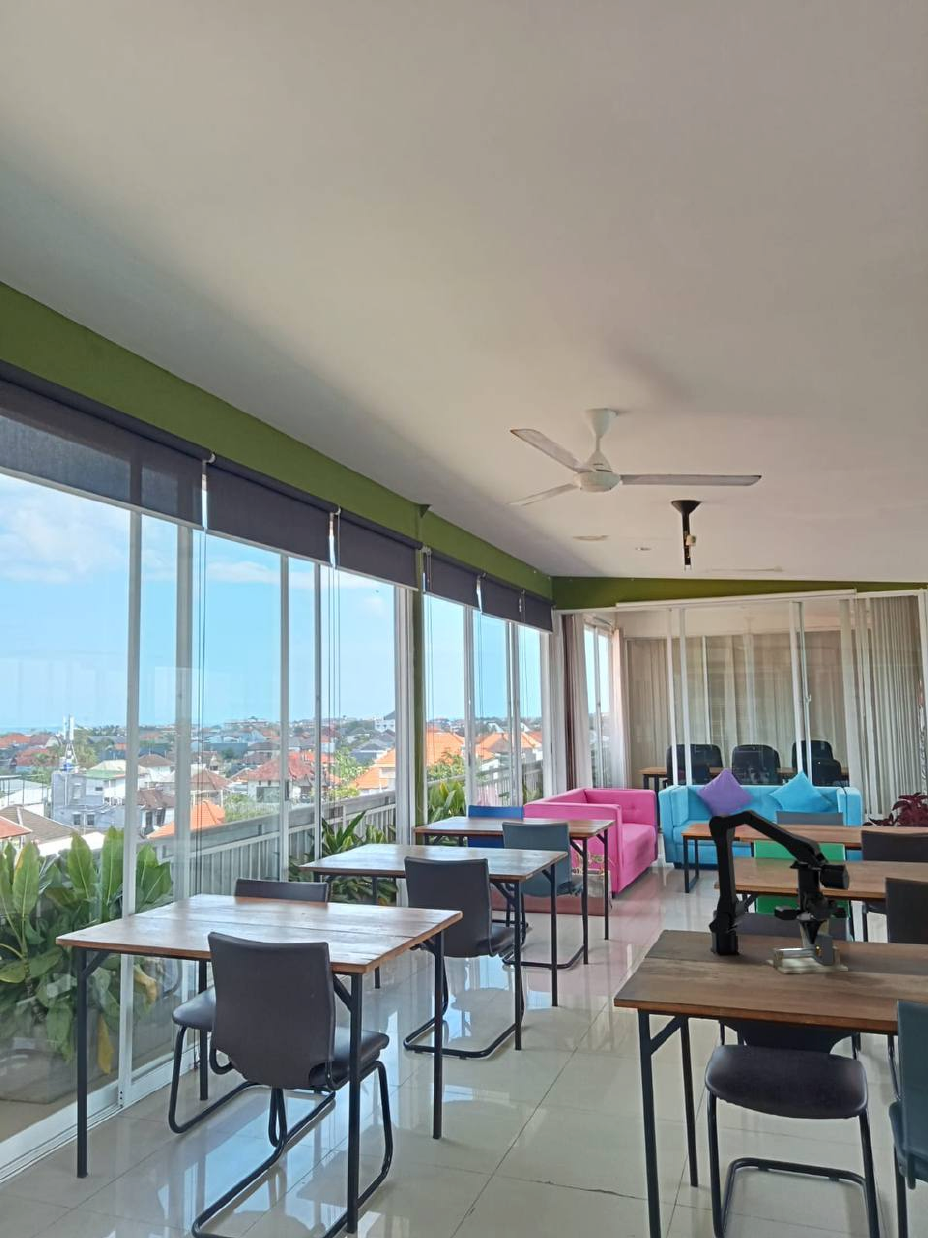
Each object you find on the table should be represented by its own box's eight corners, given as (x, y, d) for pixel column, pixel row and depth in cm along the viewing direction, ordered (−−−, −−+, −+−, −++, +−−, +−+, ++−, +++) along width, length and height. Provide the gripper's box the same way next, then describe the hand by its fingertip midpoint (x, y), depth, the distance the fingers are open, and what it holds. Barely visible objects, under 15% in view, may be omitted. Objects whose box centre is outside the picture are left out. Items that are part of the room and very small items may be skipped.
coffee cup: (827, 946, 274) (825, 894, 275) (837, 955, 264) (834, 901, 266) (793, 945, 275) (791, 894, 276) (802, 954, 265) (800, 901, 267)
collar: (823, 965, 250) (822, 937, 251) (812, 959, 256) (811, 931, 257) (833, 964, 250) (832, 936, 251) (822, 958, 256) (821, 931, 257)
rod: (777, 959, 250) (776, 950, 251) (773, 956, 253) (772, 947, 253) (839, 956, 253) (838, 947, 253) (834, 954, 255) (834, 945, 255)
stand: (784, 974, 246) (784, 955, 246) (766, 963, 257) (765, 944, 257) (847, 971, 248) (846, 952, 248) (827, 960, 259) (826, 942, 259)
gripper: (790, 893, 246) (793, 953, 244) (856, 890, 248) (859, 950, 246) (772, 885, 257) (774, 942, 255) (834, 883, 259) (837, 940, 257)
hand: (811, 944), depth 253 cm, fingers closed
